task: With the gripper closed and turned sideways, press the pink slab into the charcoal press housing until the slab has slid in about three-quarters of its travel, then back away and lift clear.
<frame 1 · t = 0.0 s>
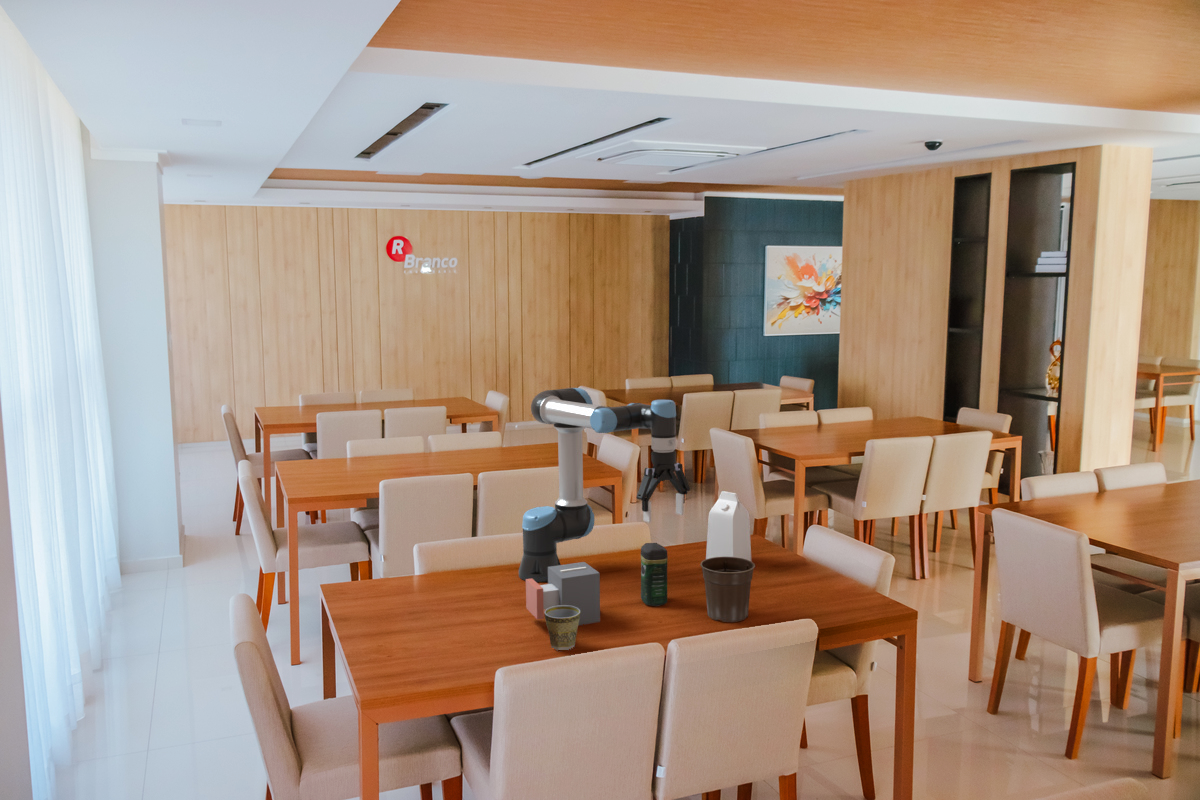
hand: (663, 517, 263), 28 cm above the table, tool pointing down, fingers open, 13 cm apart
ceramic cup: (562, 644, 237), on the table
coffee jar: (654, 602, 269), on the table
pink slab: (553, 595, 253), point 8 cm above the table, slide at 0.0 cm
milk: (728, 563, 309), on the table
press housing: (574, 618, 256), on the table
plant pot: (727, 616, 257), on the table
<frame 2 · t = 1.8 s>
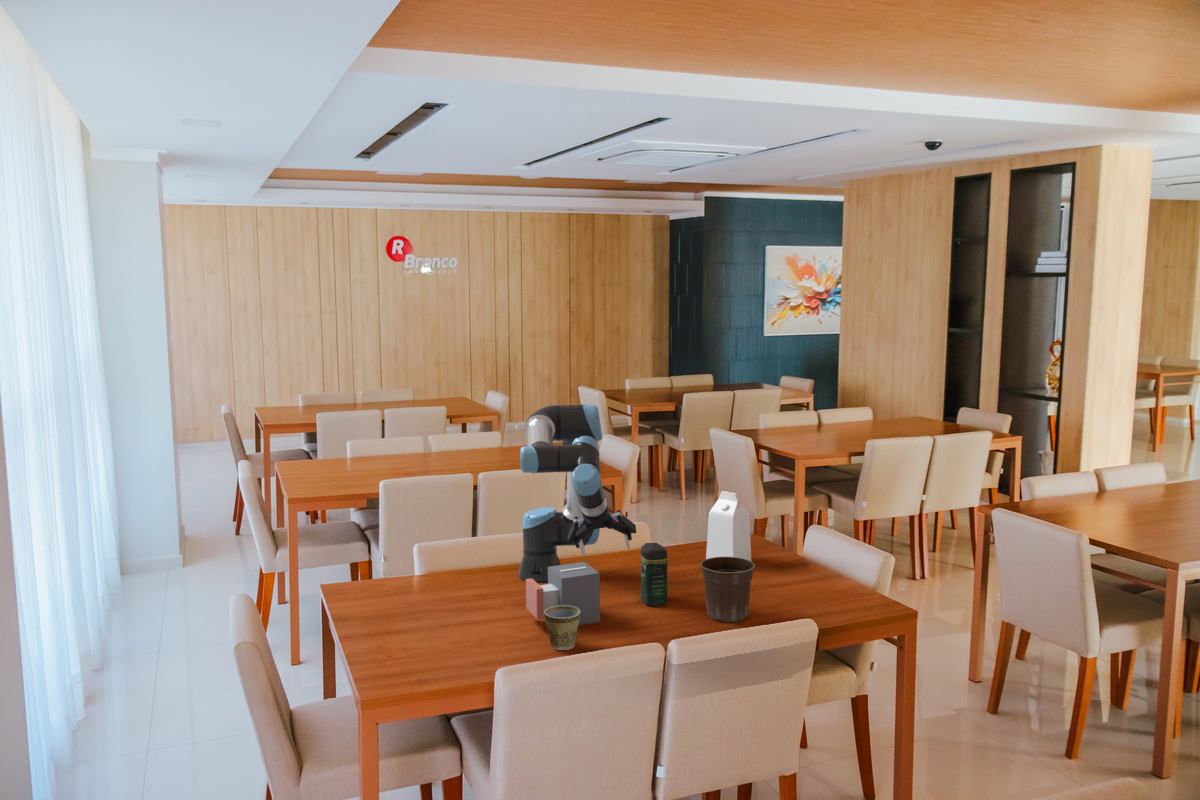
hand: (605, 548, 253), 22 cm above the table, tool tilted 40°, fingers open, 13 cm apart
nothing on the table moved.
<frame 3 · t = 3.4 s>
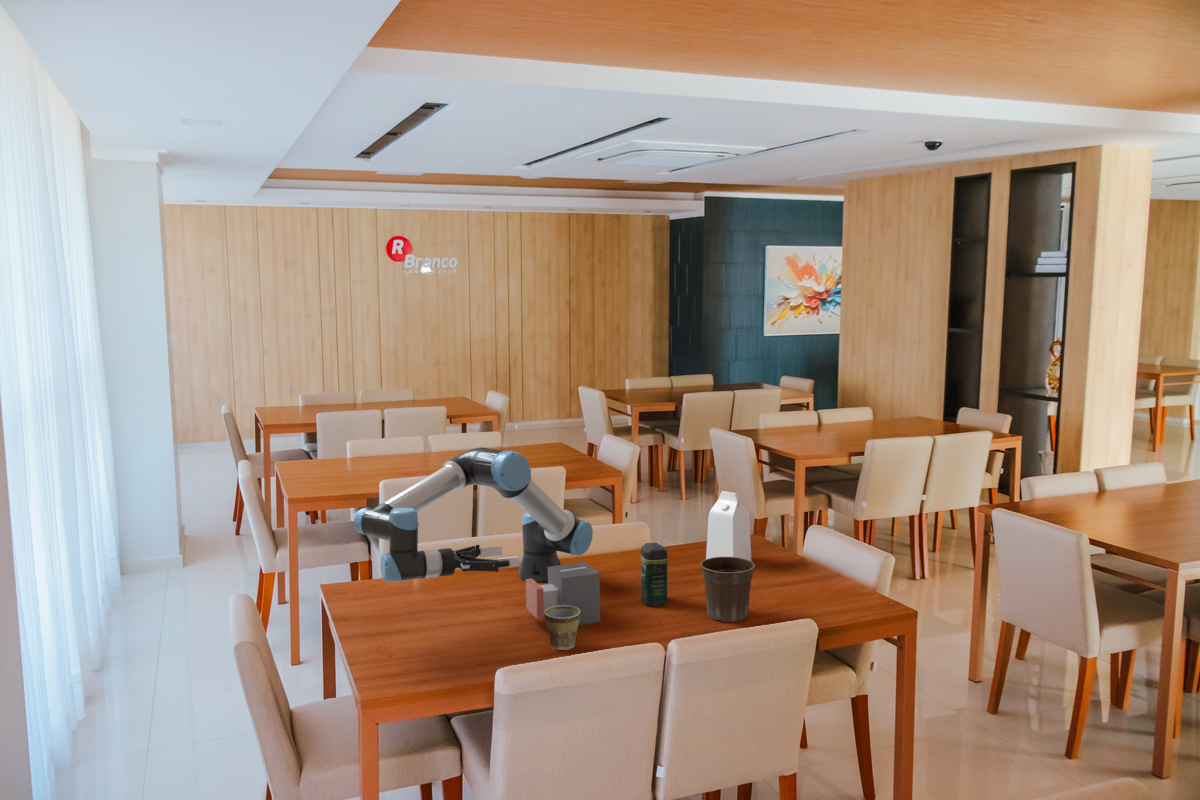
hand: (510, 555, 245), 22 cm above the table, tool horizontal, fingers open, 13 cm apart
nothing on the table moved.
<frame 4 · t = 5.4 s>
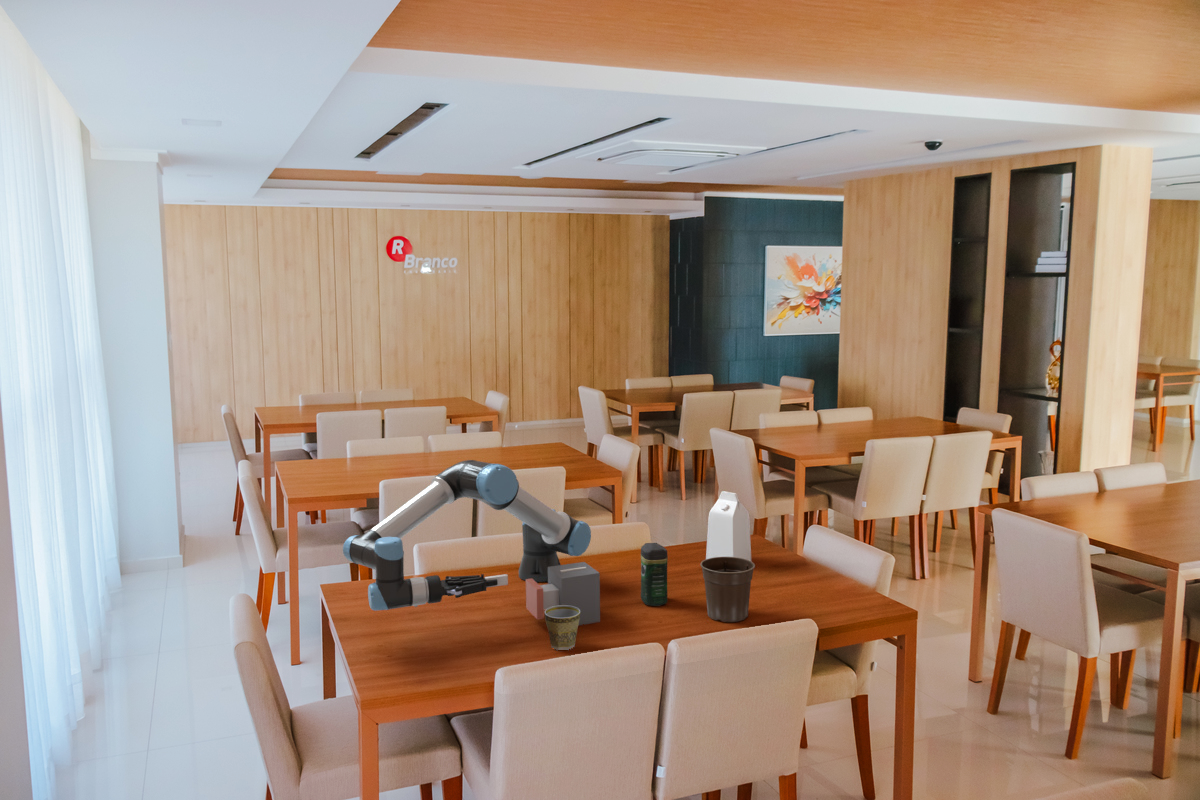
hand: (507, 579, 246), 15 cm above the table, tool horizontal, fingers closed
nothing on the table moved.
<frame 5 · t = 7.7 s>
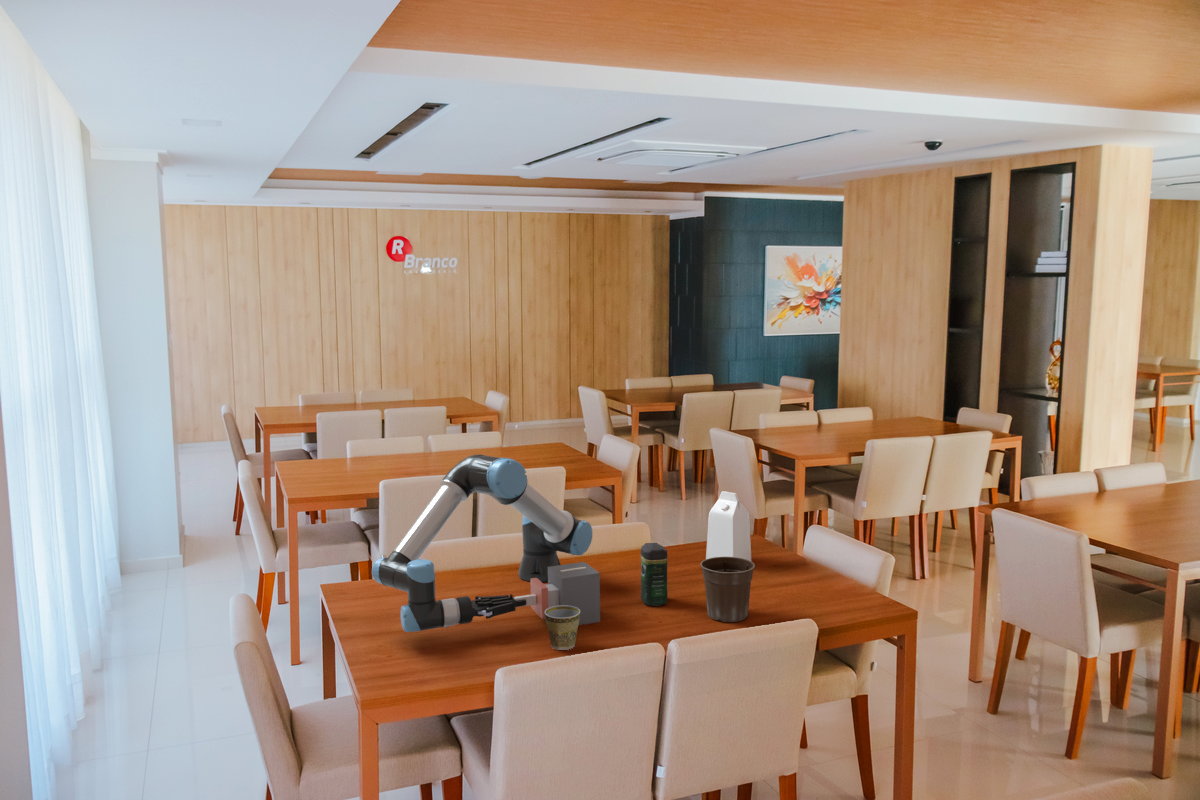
hand: (535, 599, 250), 8 cm above the table, tool horizontal, fingers closed
pink slab: (558, 594, 253), point 8 cm above the table, slide at 1.5 cm, touching gripper
everything else where it was.
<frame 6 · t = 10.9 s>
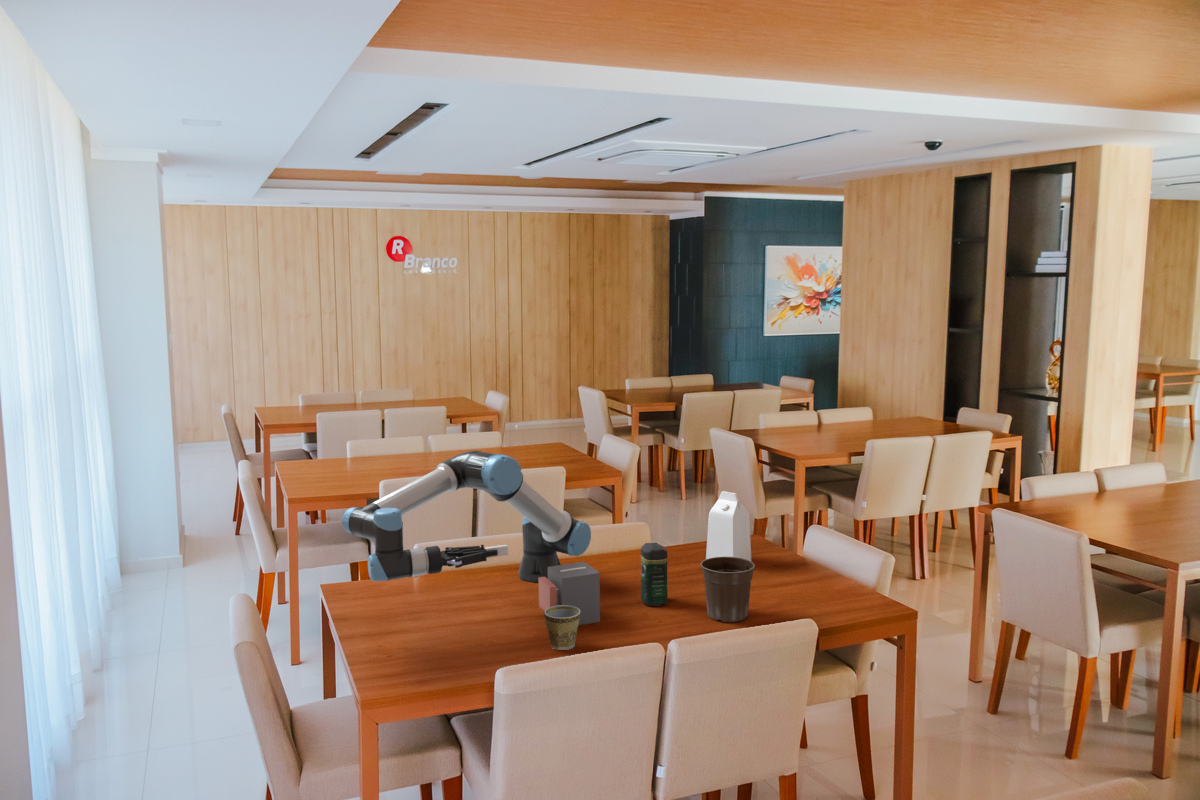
hand: (507, 549, 245), 24 cm above the table, tool horizontal, fingers closed
pink slab: (566, 593, 254), point 8 cm above the table, slide at 4.0 cm
everything else where it was.
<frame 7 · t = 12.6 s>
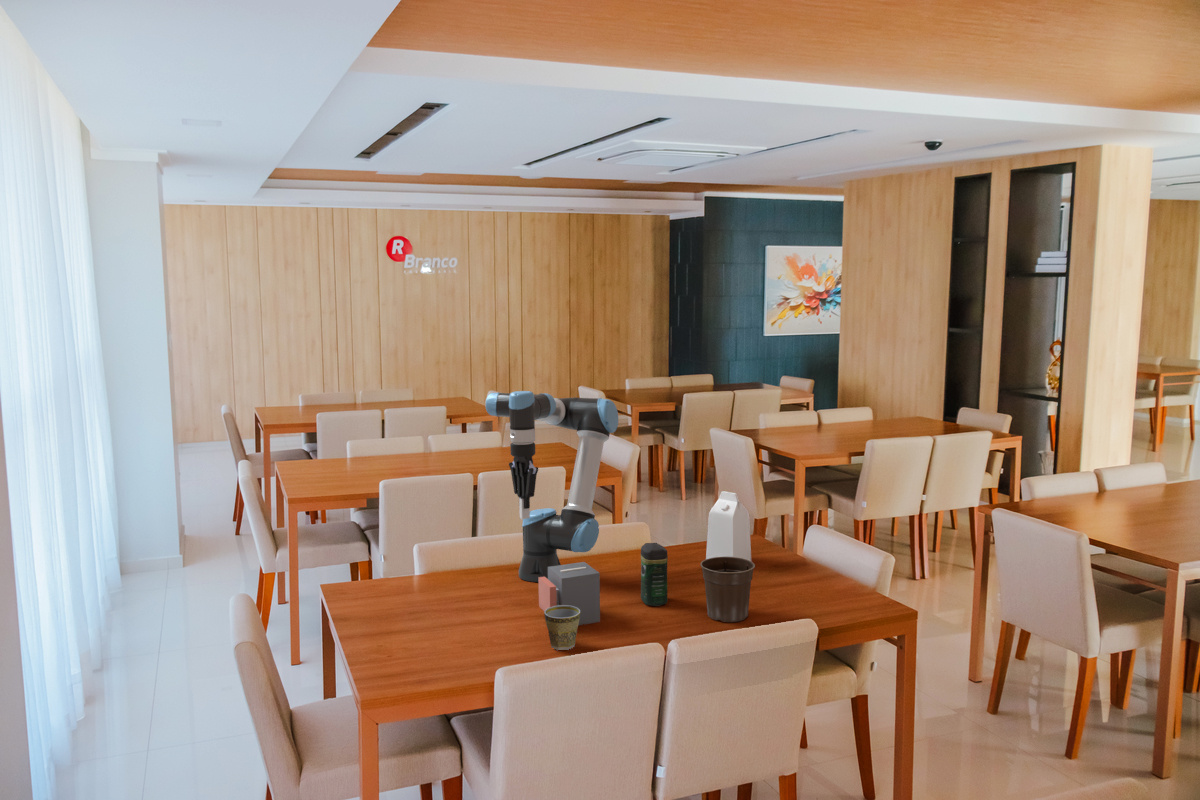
hand: (524, 518, 260), 29 cm above the table, tool pointing down, fingers closed
nothing on the table moved.
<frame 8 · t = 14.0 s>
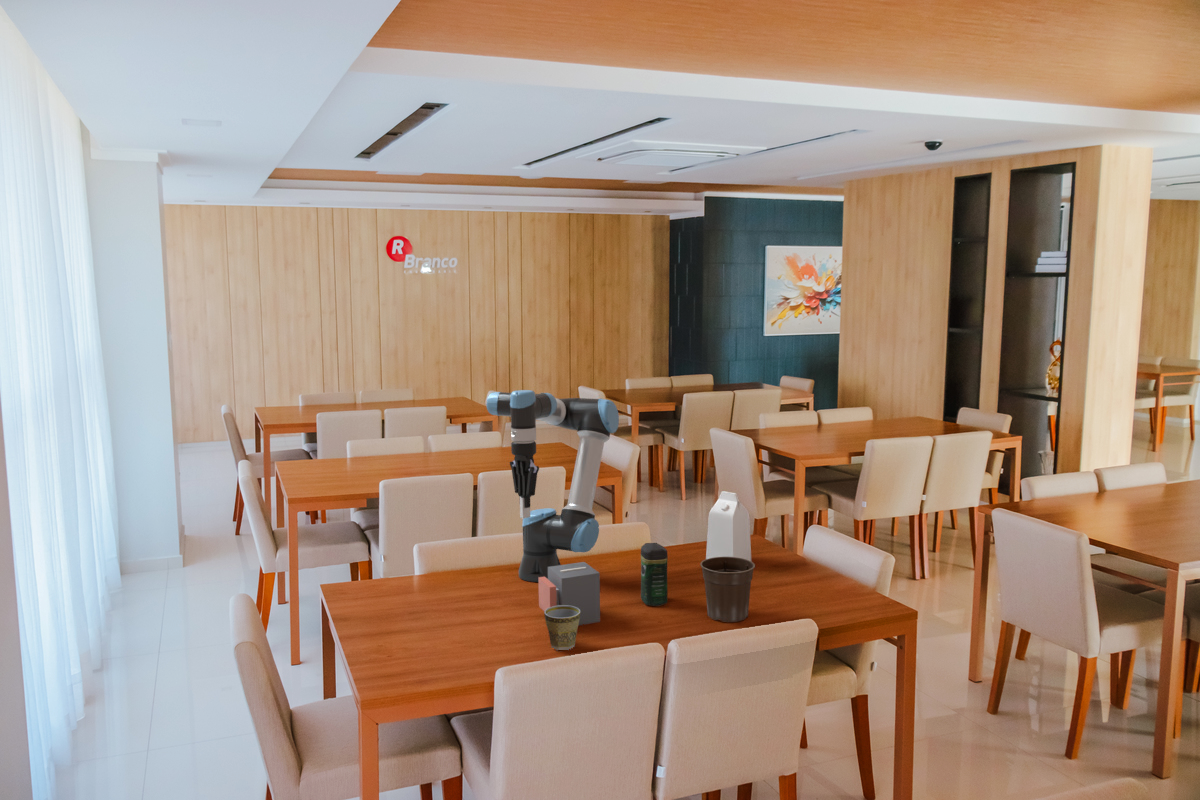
hand: (525, 517, 260), 29 cm above the table, tool pointing down, fingers closed
nothing on the table moved.
at the end: pink slab slide at 4.0 cm; ceramic cup moved 0.2 cm from its start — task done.
